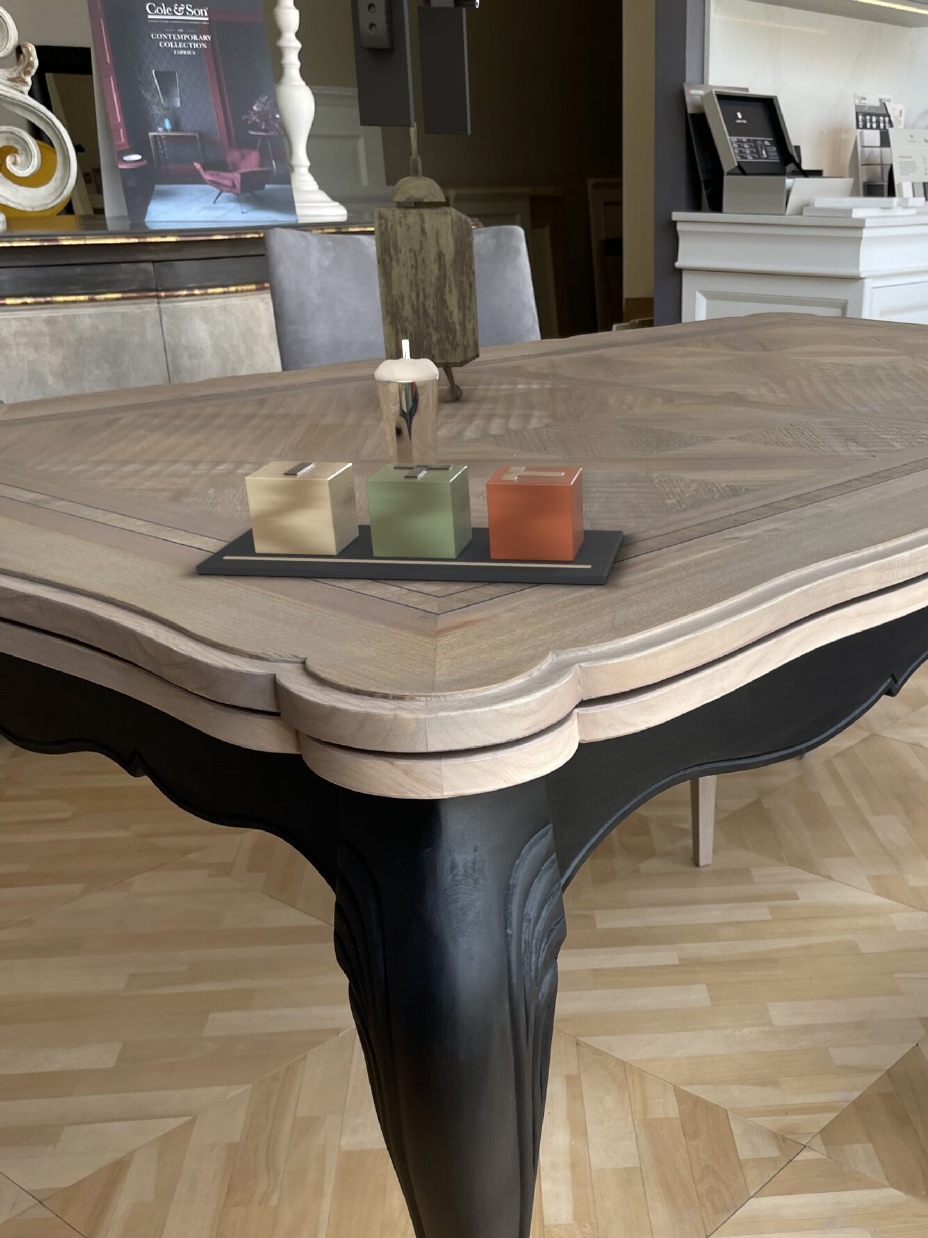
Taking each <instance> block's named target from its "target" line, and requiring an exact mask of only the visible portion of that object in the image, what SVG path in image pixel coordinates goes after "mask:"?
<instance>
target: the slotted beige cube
mask: <svg viewBox="0 0 928 1238" xmlns="http://www.w3.org/2000/svg"><path fill="white" fill-rule="evenodd" d="M353 473H354V472H353V465H352V463H351V462H338V461H337V462H333V461H331V462H330V461H326V462H325V461H289V460H288V461H286V460H285V461H283V460H272V461H271V462H269V463H268V464H266V465H264V466H262V467H261V468H259V469H257V470H255V471H253V472H252V473H250V474H248V475H246V476H245V477H244V482H245V489H246V495H247V503H248V510H249V517H250V524H251V528H252V531H253V538H254V545H255V552H256V553H257V554H297V555H337V554H338V553H340V552H341V551H342V550H343V549H344V548H345V547H346V546H348V545H349V544H350V543H351V542H352V541H353V540H354V539H356V538H357V537H358V536H359V529H358V525H359V520H358V511H357V503H356V493H355V492H356V491H355V483H354V474H353Z"/></svg>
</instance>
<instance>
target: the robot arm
mask: <svg viewBox="0 0 928 1238" xmlns="http://www.w3.org/2000/svg"><path fill="white" fill-rule="evenodd" d="M479 3H480V0H422V4H423V5H422V6H419V5H417V7H416V9H417V23H418V24H417V25H418V39H419V40H418V41H419V43H418V44H419V60H420V74H421V75H420V77H421V95H422V113H423V129H424V130H423V131H424V134H426V135H453V136H454V135H457V136H459V135H460V136H462V135H463V136H471V111H470V87H469V85H470V84H469V64H468V41H467V19H466V17H467V15H466V9H478V8H479V5H480V4H479ZM350 10H351V25H352V39H353V49H354V50H353V51H354V63H355V76H356V87H357V101H358V114H359V126H362V127H388V128H389V127H392V128H409V127H415V125H414V122H415V112H414V111H415V110H414V108H415V107H414V95H413V77H412V62H411V61H412V60H411V44H410V43H411V42H410V29H409V28H410V26H409V8H408V0H350Z"/></svg>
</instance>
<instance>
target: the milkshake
mask: <svg viewBox="0 0 928 1238" xmlns="http://www.w3.org/2000/svg"><path fill="white" fill-rule="evenodd" d="M402 345H403V358H401V359H399V360H386V359H385V360H384V361H382V362H381V364H379V366H378V367H377V368H376V370H375V371H374V376H373V377H374V380H375V386H376V390H377V396H378V401H379V407H380V411H381V416H382V422H383V427H384V432H385V439H386V446H387V451H388V458H389V463H393V464H438V416H439V415H438V414H439V392H440V391H439V388H440V387H439V386H440V385H439V383H440V373H439V369H438V368H437V367H436V366H435V365H434V363H433V362H432V361H430V360H429V359H410V352H409V340H402Z"/></svg>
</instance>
